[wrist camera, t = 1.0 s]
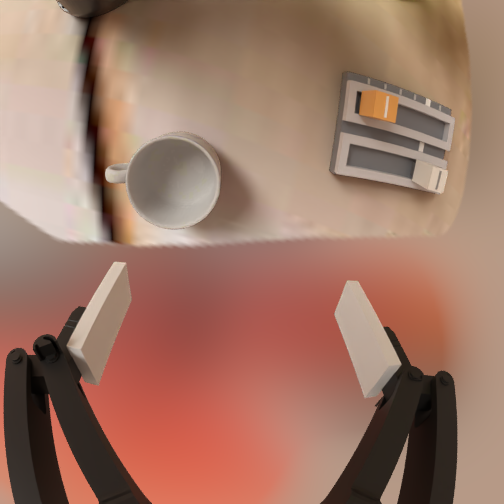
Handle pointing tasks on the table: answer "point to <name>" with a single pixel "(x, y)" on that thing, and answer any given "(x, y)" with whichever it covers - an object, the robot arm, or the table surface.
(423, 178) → the fader
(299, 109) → the table surface
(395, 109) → the fader
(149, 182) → the teacup
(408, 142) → the console
